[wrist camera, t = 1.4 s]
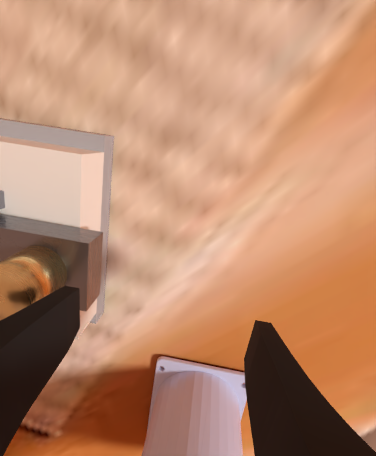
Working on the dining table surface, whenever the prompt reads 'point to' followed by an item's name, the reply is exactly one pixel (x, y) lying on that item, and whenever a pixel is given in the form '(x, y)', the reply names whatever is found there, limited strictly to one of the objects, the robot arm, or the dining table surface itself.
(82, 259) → the bolt
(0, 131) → the plate
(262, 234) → the dining table surface
